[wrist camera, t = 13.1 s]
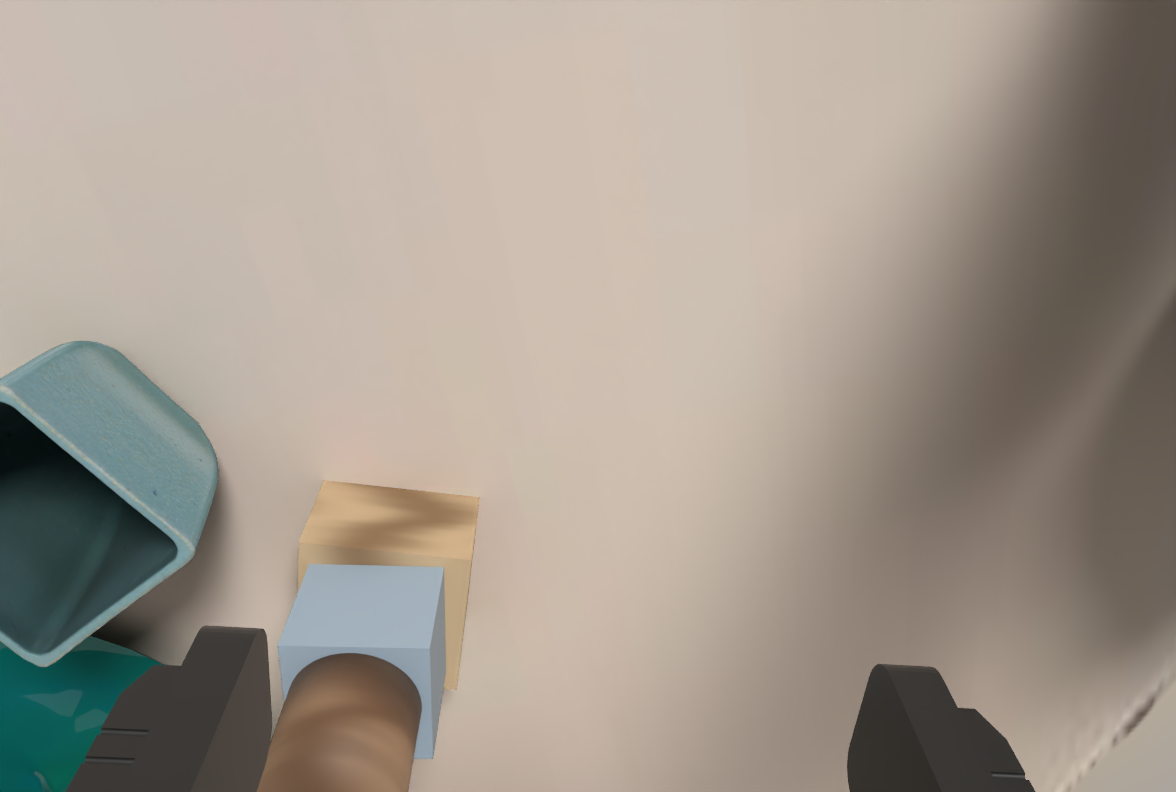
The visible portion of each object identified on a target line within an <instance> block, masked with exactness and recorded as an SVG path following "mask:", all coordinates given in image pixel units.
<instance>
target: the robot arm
mask: <svg viewBox="0 0 1176 792" xmlns="http://www.w3.org/2000/svg"><path fill="white" fill-rule="evenodd" d="M271 728H272V712H271V695H270V679H269V662H268V646H267V636H266V633H265V631H264V629H259V628H240V627H222V626H203V627H202V628H201V629H200V631H199V632H198V634H197V636H196V638H195V640H194V642H193V644H192V646H191V648H190V650H189V652H188V654H187V656H186V658H185V660H184V662H183V664H182V666H169V665H153V666H152V667H151V668H150V669H148V670H147V671H146V672H145V673H144V674H143V675H141V676H140V677H139V678H138V679H137V680H136V681H134V682H133V683H132V684H131V685H130V686H129V687H127V688H126V689H125V690H124V691H123V692H122V693H120V695H119V697H118V699H117V700H116V702H115V704H114V706H113V708H112V709H111V711H110V713H109V715H108V716H107V718H106V720H105V722H104V724H103V725H102V727H101V733H100V735H97V736H96V738H95V740H94V741H93V743H92V745H91V747H90V749H89V750H88V752H87V754H86V756H85V762H84V763H81V765H80V766H79V768H78V770H77V772H76V774H75V775H74V777H73V779H72V781H71V782H70V784H69V786H68V788H67V790H66V791H65V792H257V789H258V786H259V783H260V780H261V777H262V774H263V771H264V768H265V764H266V761H267V756H268V751H269V746H270V739H271ZM847 772H848V783H849V789H850V792H1035V790H1034V788H1033V787H1032V785H1031V783H1030V781H1029V780H1026V779H1025V772H1024V770H1023V768H1022V767H1021V765H1020V763H1019V761H1018V759H1017V758H1016V756H1015V754H1014V752H1013V750H1012V749H1011V747H1010V745H1009V743H1008V741H1007V740H1006V738H1005V737H1003V736H1002V735H1001V734H1000V733H999V732H998V731H997V730H996V729H995V728H994V727H993V726H992V725H991V724H990V723H989V722H988V721H987V720H986V719H985V718H984V717H983V716H982V715H981V714H980V713H979V712H978V711H976V710H975V709H967V708H958V707H957V706H956V704H955V702H954V700H953V698H952V696H951V694H950V692H949V690H948V688H947V686H946V684H945V682H944V680H943V678H942V676H941V675H940V673H939V672H938V671H937V670H936V669H935V668H933V667H924V666H905V665H887V664H878V665H876V666H875V667H874V668H873V669H872V671H871V674H870V676H869V680H868V683H867V687H866V690H865V694H864V697H863V701H862V704H861V708H860V711H859V715H858V718H857V722H856V725H855V729H854V732H853V735H852V739H851V742H850V746H849V751H848V761H847Z"/></svg>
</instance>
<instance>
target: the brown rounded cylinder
mask: <svg viewBox="0 0 1176 792" xmlns="http://www.w3.org/2000/svg"><path fill="white" fill-rule="evenodd" d="M421 712H422V702H421V697H420V694H419V691H418V689H417V687H416V685H415V684H414V682H413V681H412V680H411V678H410V677H409V676H408V675H407V674H406V673H405V672H403V671H402V670H401V669H400V668H398V667H397V666H395V665H393V664H392V663H390V662H388V661H385V660H383V659H380V658H378V657H375V656H371V655H366V654H359V653H340V654H334V655H329V656H326V657H322V658H320V659H317V660H315V661H313V662H312V663H310V664H308V665H307V666H306V667H304V668H303V669H302V670H301V671H300V672H299V673H298V674H297V675H296V677H295V678H294V679H293V681H292V683H291V686H290V688H289V691H288V694H287V697H286V700H285V702H284V705H283V708H282V711H281V714H280V717H279V720H278V723H277V725H276V728H275V731H274V734H273V737H272V740H271V743H270V746H269V751H268V756H267V761H266V764H265V768H264V771H263V774H262V777H261V780H260V783H259V786H258V789H257V792H408V788H409V782H410V776H411V770H412V764H413V759H414V753H415V747H416V741H417V735H418V729H419V724H420V718H421Z"/></svg>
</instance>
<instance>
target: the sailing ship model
mask: <svg viewBox="0 0 1176 792" xmlns="http://www.w3.org/2000/svg"><path fill="white" fill-rule="evenodd" d="M153 665H163V664H161V663H159V662H157V661H154V660H152V659H150V658H148V657H146V656H144V655H142V654H139V653H137V652H135V651H133V650H131V649H128V648H125V647H122V646H119V645H116V644H113V643H110V642H107V641H104V640H101V639H98V638H95V637H93V636H89V637H87V638H86V639H85V640H83V641H82V642H81V643H80V644H78V645H77V646H75V647H74V648H73V649H72V650H71V651H69V652H68V653H66V654H65V655H64V656H63V657H61V658H60V659H59V660H57V661H56V662H55V663H53V664H51V665H50V666H47V667H40V666H37V665H35V664H33V663H31V662H29V661H27V660H25V659H23V658H22V657H21V656H19V655H18V654H16V653H15V652H14V651H12V650H11V649H10V648H9V647H7V646H6V645H5V644H3V643H2V642H1V641H0V792H65V791H66V790H67V788H68V786H69V784H70V782H71V781H72V779H73V777H74V775H75V774H76V772H77V770H78V768H79V766H80V765H81V763H84V762H85V756H86V754H87V752H88V750H89V749H90V747H91V745H92V743H93V741H94V740H95V738H96V736H97V735H100V733H101V727H102V725H103V724H104V722H105V720H106V718H107V716H108V715H109V713H110V711H111V709H112V708H113V706H114V704H115V702H116V700H117V699H118V697H119V695H120V693H122V692H123V691H124V690H125V689H126V688H127V687H129V686H130V685H131V684H132V683H133V682H134V681H136V680H137V679H138V678H139V677H140V676H141V675H143V674H144V673H145V672H146V671H147V670H148V669H150V668H151V667H152V666H153Z"/></svg>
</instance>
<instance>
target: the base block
mask: <svg viewBox="0 0 1176 792" xmlns="http://www.w3.org/2000/svg"><path fill="white" fill-rule="evenodd" d="M479 498H480V497H472V496H463V495H453V494H444V493H435V492H426V491H417V490H407V489H398V488H389V487H380V486H371V485H361V484H352V483H343V482H334V481H325V480H324V482H323V484H322V486H321V489H320V491H319V494H318V496H317V499H316V501H315V504H314V506H313V509H312V511H311V513H310V516H309V518H308V521H307V523H306V526H305V528H304V531H303V533H302V535H301V538H300V540H299V549H298V591H299V589H300V586H301V584H302V581H303V578H304V576H305V573H306V571H307V568H308V565H309V564H334V565H379V566H424V567H444V589H445V638H446V675H445V682H444V689H455V690H457V682H458V674H459V666H460V658H461V650H462V642H463V633H464V625H465V617H466V609H467V600H468V592H469V583H470V575H471V566H472V558H473V549H474V540H475V532H476V523H477V515H478V506H479ZM297 594H298V592H297Z"/></svg>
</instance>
